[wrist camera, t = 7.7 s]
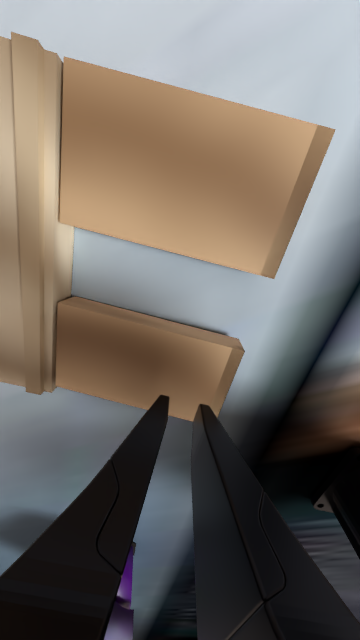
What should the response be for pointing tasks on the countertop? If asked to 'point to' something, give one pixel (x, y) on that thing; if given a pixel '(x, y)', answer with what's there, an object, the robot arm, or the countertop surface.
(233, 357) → the inner oak plank
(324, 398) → the countertop surface
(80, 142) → the outer oak plank
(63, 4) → the countertop surface
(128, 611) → the potion bottle
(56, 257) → the pine floorboard strip
